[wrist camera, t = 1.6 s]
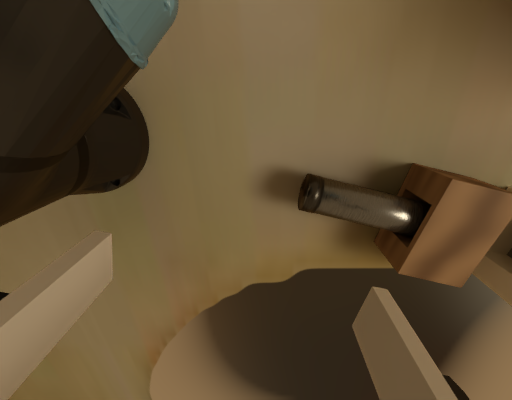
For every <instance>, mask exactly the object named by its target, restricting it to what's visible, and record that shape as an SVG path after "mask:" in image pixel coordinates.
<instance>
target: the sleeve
mask: <svg viewBox="0 0 512 400" xmlns="http://www.w3.org/2000/svg"><path fill="white" fill-rule="evenodd" d="M397 196H401V197H405V198H409V199H413V200H418V201H422V202H426V203H430V204H431V205H432V206H431V207H430V209H429V211H428V213H427V214H426V216H425V218H424V220H423V221H422V223H421V225H420V227H419V229H418V230H417V232H416V234H415V236H409V235H405V234H401V233H397V232H392V231H388V230H384V229H380V230H379V232H378V234H377V236H376V238H375V240H374V242H375V244H376V245H377V246H378V248H379V249H380V250H381V252H382V253H383V254H384V256H385V257H386V258H387V259H388V261H389V262H390V263H391V265H392V266H393V267H394V269H395V270H396V271H397V272H398V273H399V274H404V275H408V276H413V277H417V278H421V279H425V280H430V281H434V282H438V283H443V284H447V285H451V286H456V287H462V286H463V285H464V283H465V282H466V281H467V279H468V278H469V276H470V275H471V274H472V272H473V271H474V270H475V268H476V267H477V266H478V264H479V263H480V261H481V260H482V259H483V257H484V256H485V255H486V253H487V252H488V250H489V249H490V248H491V246H492V245H493V244H494V242H495V241H496V239H497V238H498V237H499V235H500V234H501V233H502V231H503V230H504V228H505V227H506V226H507V224H508V223H509V222H510V220H511V219H512V192H510V191H507V190H504V189H502V188H499V187H496V186H493V185H491V184H488V183H485V182H482V181H480V180H477V179H474V178H471V177H467V176H463V175H459V174H455V173H451V172H447V171H443V170H439V169H435V168H431V167H427V166H423V165H419V164H415V163H413V164H412V166H411V168H410V170H409V172H408V174H407V176H406V178H405V180H404V182H403V184H402V186H401V188H400V190H399V192H398V194H397Z"/></svg>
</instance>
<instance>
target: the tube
mask: <svg viewBox="0 0 512 400" xmlns="http://www.w3.org/2000/svg"><path fill="white" fill-rule="evenodd" d="M431 206H432V205H431V204H430V203H426V202H422V201H418V200H413V199H409V198H405V197H401V196H397V195H393V194H389V193H385V192H381V191H376V190H372V189H368V188H364V187H360V186H356V185H352V184H348V183H344V182H339V181H335V180H331V179H327V178H323V177H321V176H317V175H312V174H307V175H306V177H305V178H304V181H303V183H302V186H301V189H300V193H299V198H298V209H299V210H302V211H306V212H310V213H316V214H321V215H325V216H329V217H333V218H337V219H342V220H346V221H350V222H354V223H359V224H363V225H367V226H371V227H375V228H380V229H384V230H388V231H392V232H397V233H401V234H405V235H409V236H415V234H416V232H417V230H418V229H419V227H420V225H421V223H422V221H423V220H424V218H425V216H426V214H427V213H428V211H429V209H430V207H431Z"/></svg>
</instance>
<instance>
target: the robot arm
mask: <svg viewBox="0 0 512 400" xmlns="http://www.w3.org/2000/svg"><path fill="white" fill-rule="evenodd" d="M177 11H178V0H0V226H2V225H5V224H7V223H9V222H11V221H13V220H15V219H18V218H20V217H22V216H24V215H26V214H28V213H31V212H33V211H35V210H37V209H39V208H42V207H44V206H46V205H48V204H50V203H52V202H55V201H57V200H59V199H61V198H63V197H65V196H68V195H77V194H92V193H104V192H108V191H112V190H115V189H117V188H119V187H121V186H123V185H125V184H126V183H128V182H130V181H131V180H133V179H134V178H135V177H136V176H137V175H138V174H139V173H140V171H141V170H142V168H143V167H144V165H145V162H146V160H147V156H148V151H149V136H148V130H147V126H146V123H145V120H144V117H143V115H142V113H141V111H140V109H139V107H138V105H137V104H136V102H135V101H134V99H133V98H132V97H131V96H130V94H129V93H128V92H127V91H126V90H125V89H124V87H125V85H126V84H127V83H128V82H129V81H130V80H131V78H132V77H133V76H134V75H135V74H136V73H137V72H138V70H139V69H140V68H141V69H144V68H145V67H146V66H147V64H148V57H149V56H150V54H151V53H152V52H153V50H154V49H155V47H156V46H157V44H158V43H159V42H160V40H161V39H162V37H163V36H164V35H165V33H166V32H167V31H168V30H169V28H170V27H171V26H172V24H173V22H174V20H175V18H176V15H177ZM112 280H113V263H112V233H107V232H102V231H97V230H95V231H93V232H92V233H91V234H89V235H88V236H87V237H85V238H84V239H83V240H81V241H80V242H79V243H77V244H76V245H75V246H73V247H72V248H70V249H69V250H68V251H66V252H65V253H64V254H62V255H61V256H60V257H58V258H57V259H56V260H54V261H53V262H52V263H50V264H49V265H48V266H46V267H45V268H44V269H42V270H41V271H40V272H38V273H37V274H36V275H34V276H33V277H32V278H30V279H29V280H28V281H26V282H25V283H24V284H22V285H21V286H19V287H18V288H17V289H15V290H14V291H13V292H11V293H10V294H9V293H4V292H0V400H8V399H9V398H10V397H11V396H12V394H13V393H14V392H15V391H16V390H17V389H18V387H19V386H20V385H21V384H22V383H23V382H24V381H25V379H26V378H27V377H28V376H29V375H30V374H31V373H32V371H33V370H34V369H35V368H36V367H37V366H38V365H39V363H40V362H41V361H42V360H43V359H44V358H45V356H46V355H47V354H48V353H49V352H50V351H51V350H52V348H53V347H54V346H55V345H56V344H57V343H58V342H59V340H60V339H61V338H62V337H63V336H64V335H65V334H66V332H67V331H68V330H69V329H70V328H71V327H72V325H73V324H74V323H75V322H76V321H77V320H78V319H79V317H80V316H81V315H82V314H83V313H84V312H85V311H86V309H87V308H88V307H89V306H90V305H91V304H92V302H93V301H94V300H95V299H96V298H97V297H98V296H99V294H100V293H101V292H102V291H103V290H104V289H105V288H106V286H107V285H108V284H109V283H110V282H111V281H112ZM352 327H353V330H354V333H355V335H356V338H357V340H358V343H359V346H360V349H361V351H362V354H363V356H364V359H365V362H366V364H367V367H368V370H369V372H370V375H371V377H372V380H373V383H374V385H375V388H376V391H377V393H378V396H379V399H380V400H469V398H468V397H467V395H466V394H465V392H464V391H463V390H462V389H461V388H460V387H459V386H458V385H457V384H456V383H455V382H454V381H453V380H452V379H451V378H450V377H449V376H445V375H442V374H441V372H440V371H439V369H438V368H437V366H436V365H435V363H434V362H433V360H432V358H431V357H430V355H429V354H428V352H427V351H426V349H425V348H424V346H423V344H422V343H421V341H420V340H419V338H418V337H417V335H416V333H415V332H414V330H413V329H412V327H411V326H410V324H409V323H408V321H407V319H406V318H405V316H404V315H403V313H402V312H401V310H400V309H399V307H398V305H397V304H396V302H395V301H394V299H393V298H392V296H391V295H390V293H389V291H388V290H387V289H382V288H377V287H372V288H371V290H370V292H369V294H368V296H367V298H366V300H365V302H364V304H363V305H362V307H361V309H360V311H359V313H358V315H357V317H356V319H355V321H354V323H353V325H352Z"/></svg>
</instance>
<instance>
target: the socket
mask: <svg viewBox="0 0 512 400" xmlns="http://www.w3.org/2000/svg"><path fill="white" fill-rule="evenodd" d="M506 190H507V191H510V192H512V188H511V187H508V188H507V189H506ZM472 274H473V275H475V276H476V277H477V278H478V279H479V280H481V281H482V282H483V283H484V284H486V285H487V286H488V287H489V288H490V289H492V290H493V291H494V292H495V293H497V295H499V296H500V297H501V298H502V299H503V300H505V301H506V302H507V303H508V304H509V305H511V306H512V219H511V220H510V222H509V223H508V224H507V226H506V227H505V228H504V230H503V231H502V233H501V234H500V235H499V237H498V238H497V239H496V241H495V242H494V244H493V245H492V246H491V248H490V249H489V250H488V252H487V253H486V255H485V256H484V257H483V259H482V260H481V261H480V263H479V264H478V266H477V267H476V268H475V270H474V271H473V272H472Z"/></svg>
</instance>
